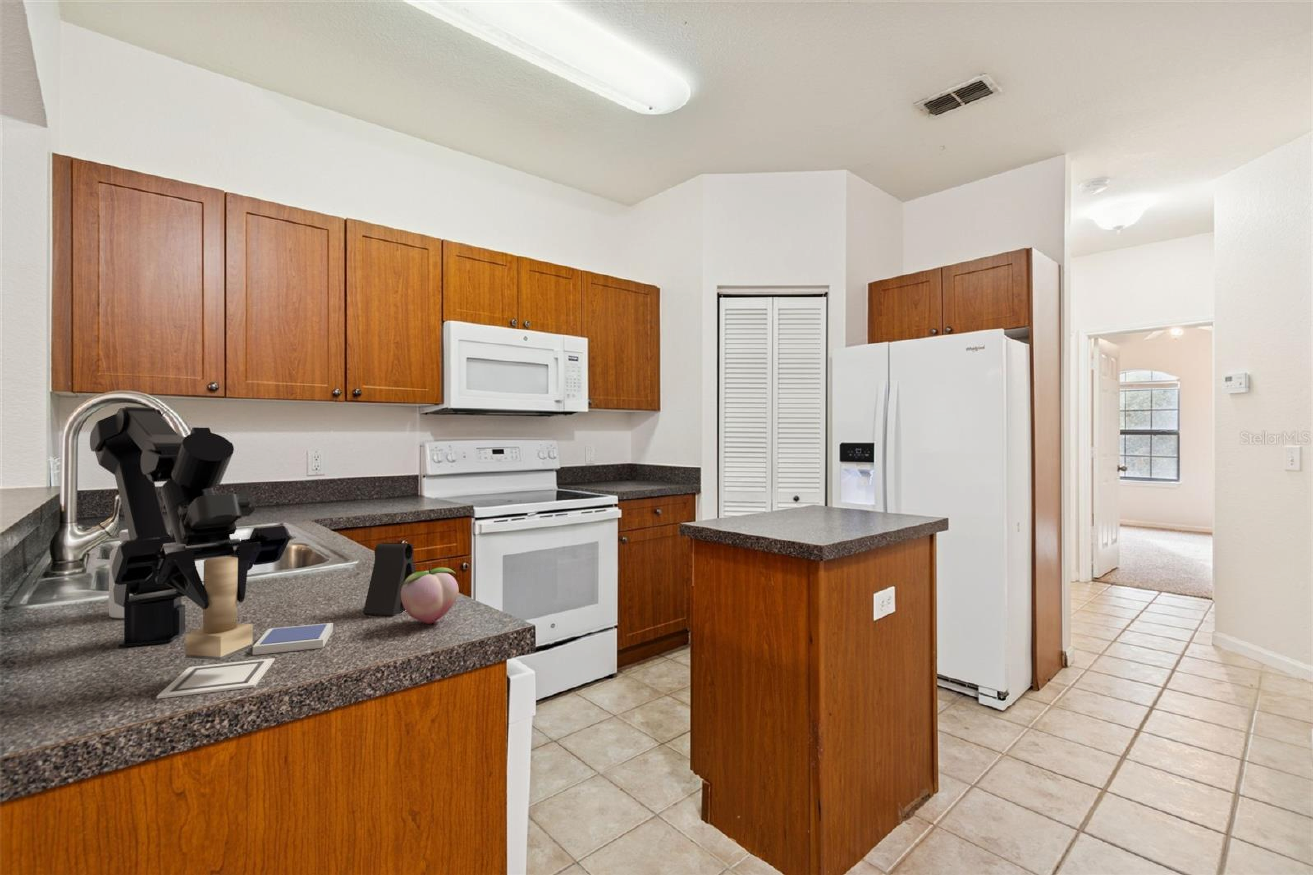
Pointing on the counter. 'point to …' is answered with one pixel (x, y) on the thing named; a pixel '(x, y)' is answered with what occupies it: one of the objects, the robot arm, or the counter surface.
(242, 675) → the card
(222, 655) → the stamp
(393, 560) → the phone stand
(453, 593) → the decorative fruit
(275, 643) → the ink pad
